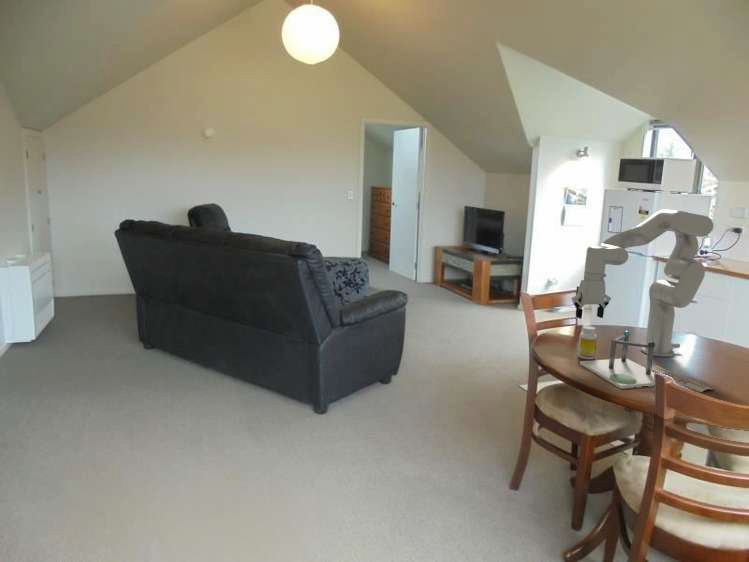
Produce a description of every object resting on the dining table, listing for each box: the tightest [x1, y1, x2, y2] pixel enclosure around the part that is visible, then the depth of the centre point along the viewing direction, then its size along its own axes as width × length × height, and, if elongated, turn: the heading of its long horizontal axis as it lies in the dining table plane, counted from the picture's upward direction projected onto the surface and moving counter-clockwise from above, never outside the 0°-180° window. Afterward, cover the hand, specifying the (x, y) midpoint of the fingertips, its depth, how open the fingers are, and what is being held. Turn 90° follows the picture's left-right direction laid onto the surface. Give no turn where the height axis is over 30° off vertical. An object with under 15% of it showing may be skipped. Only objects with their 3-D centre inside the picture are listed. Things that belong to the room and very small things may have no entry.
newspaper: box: [651, 365, 715, 394], centre depth 196 cm, size 24×7×2 cm, turn 18°
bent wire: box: [609, 330, 655, 375], centre depth 203 cm, size 12×16×13 cm
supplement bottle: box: [577, 325, 598, 360], centre depth 218 cm, size 7×7×13 cm
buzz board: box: [579, 358, 655, 390], centre depth 201 cm, size 21×25×2 cm
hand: (589, 317), depth 216 cm, fingers open, 9 cm apart
